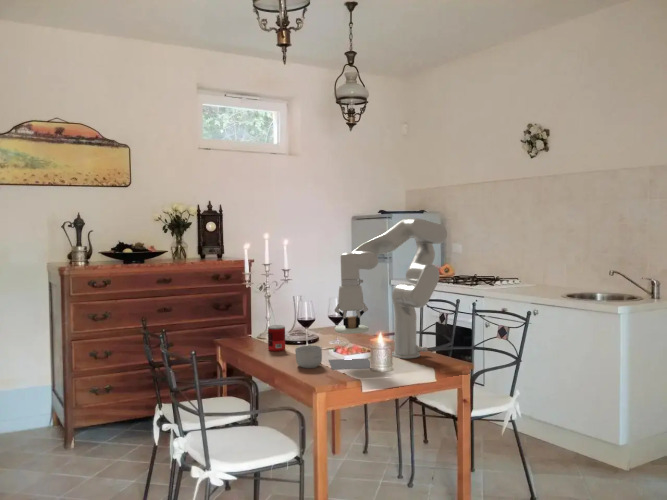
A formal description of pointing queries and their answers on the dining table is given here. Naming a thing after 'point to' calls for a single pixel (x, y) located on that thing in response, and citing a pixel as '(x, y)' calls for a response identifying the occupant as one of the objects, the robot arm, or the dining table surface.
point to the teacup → (308, 356)
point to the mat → (349, 364)
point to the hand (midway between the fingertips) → (351, 326)
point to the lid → (351, 327)
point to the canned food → (276, 338)
